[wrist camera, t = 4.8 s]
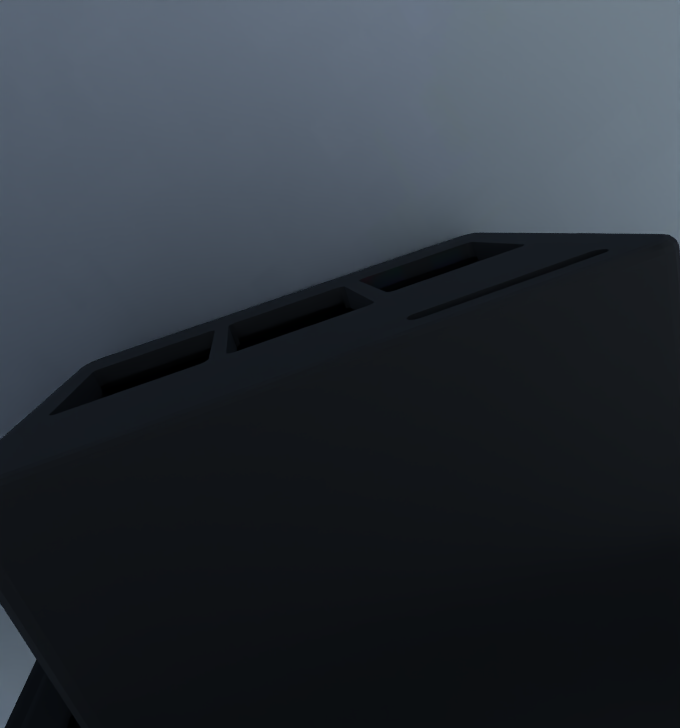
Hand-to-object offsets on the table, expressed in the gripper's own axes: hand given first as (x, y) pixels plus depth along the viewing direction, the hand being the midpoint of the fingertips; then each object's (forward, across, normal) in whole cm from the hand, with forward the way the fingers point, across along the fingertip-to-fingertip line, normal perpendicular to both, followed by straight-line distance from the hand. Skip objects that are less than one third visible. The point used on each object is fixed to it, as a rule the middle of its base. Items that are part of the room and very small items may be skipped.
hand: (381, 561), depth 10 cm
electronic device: (+1, 0, 0) cm, 1 cm away
